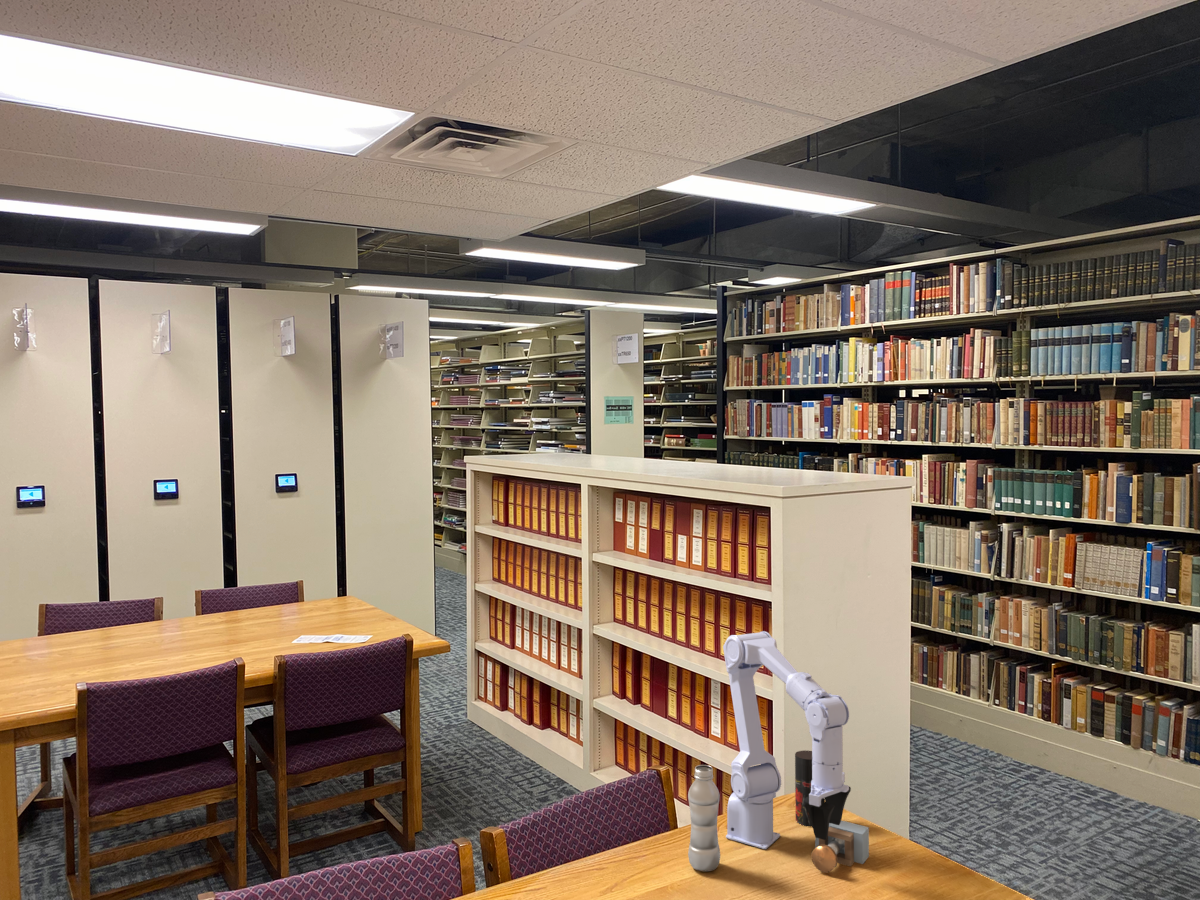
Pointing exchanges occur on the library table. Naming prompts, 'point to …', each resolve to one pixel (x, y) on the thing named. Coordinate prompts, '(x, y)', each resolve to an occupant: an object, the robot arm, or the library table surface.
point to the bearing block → (859, 839)
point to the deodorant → (802, 785)
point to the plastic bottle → (704, 820)
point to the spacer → (849, 845)
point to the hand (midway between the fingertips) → (827, 830)
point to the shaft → (827, 855)
